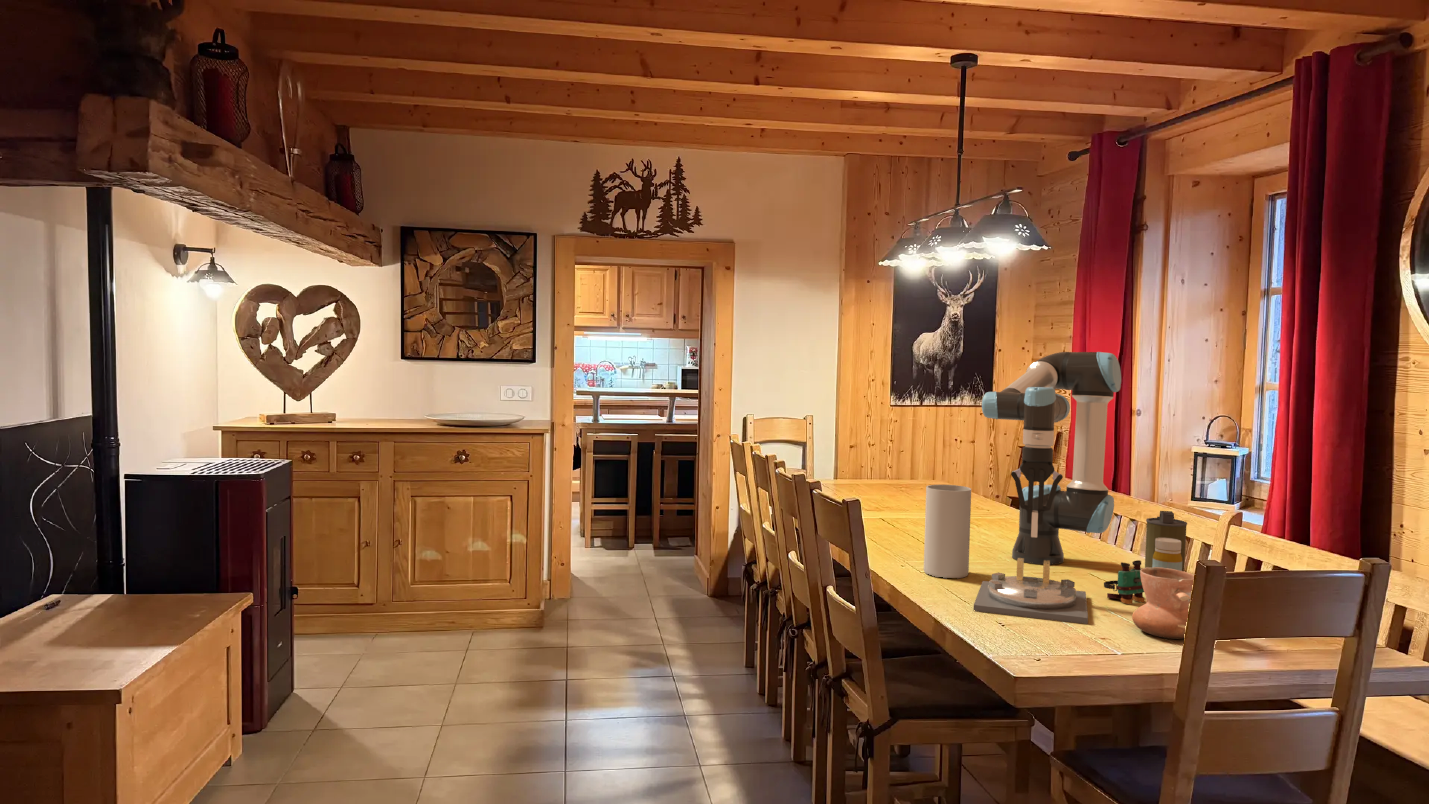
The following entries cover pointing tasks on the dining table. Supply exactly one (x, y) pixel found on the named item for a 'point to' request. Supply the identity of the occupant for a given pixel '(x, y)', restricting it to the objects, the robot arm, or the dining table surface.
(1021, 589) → the oval turntable platform
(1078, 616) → the base board
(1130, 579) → the binoculars
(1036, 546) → the robot arm
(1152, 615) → the ceramic jug
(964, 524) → the cylinder vase
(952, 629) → the dining table surface
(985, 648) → the dining table surface
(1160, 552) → the bottle
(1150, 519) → the canister
